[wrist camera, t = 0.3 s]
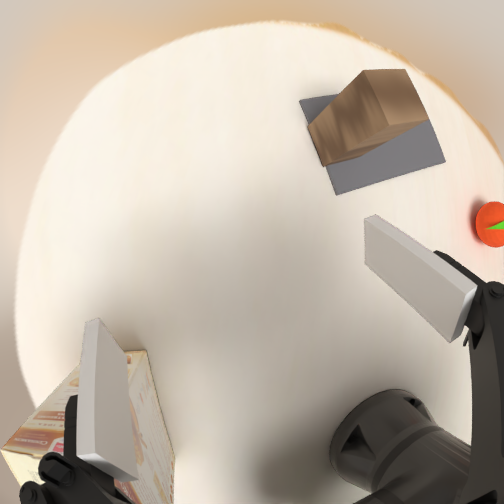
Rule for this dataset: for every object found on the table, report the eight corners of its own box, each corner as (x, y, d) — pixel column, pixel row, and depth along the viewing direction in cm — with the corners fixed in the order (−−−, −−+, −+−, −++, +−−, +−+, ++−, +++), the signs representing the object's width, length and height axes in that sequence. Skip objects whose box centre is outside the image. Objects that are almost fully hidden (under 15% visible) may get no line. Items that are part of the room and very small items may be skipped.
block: (358, 157, 34) (429, 119, 21) (323, 166, 33) (389, 125, 20) (343, 119, 34) (405, 69, 21) (307, 126, 33) (363, 70, 20)
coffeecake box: (86, 352, 29) (-5, 446, 9) (147, 348, 30) (101, 459, 11) (121, 461, 29) (93, 580, 10) (176, 459, 30) (179, 587, 11)
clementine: (467, 253, 38) (502, 253, 31) (459, 208, 38) (494, 202, 31) (492, 242, 40) (524, 241, 33) (485, 201, 39) (517, 196, 32)
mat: (444, 162, 37) (445, 161, 37) (336, 195, 34) (337, 194, 33) (413, 88, 37) (414, 87, 36) (299, 101, 33) (300, 99, 33)
